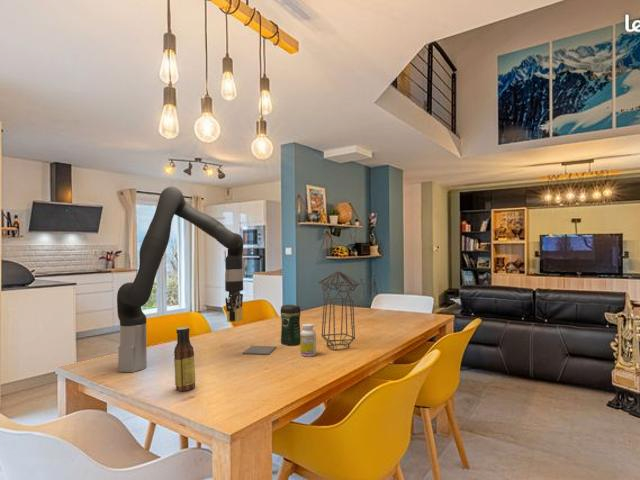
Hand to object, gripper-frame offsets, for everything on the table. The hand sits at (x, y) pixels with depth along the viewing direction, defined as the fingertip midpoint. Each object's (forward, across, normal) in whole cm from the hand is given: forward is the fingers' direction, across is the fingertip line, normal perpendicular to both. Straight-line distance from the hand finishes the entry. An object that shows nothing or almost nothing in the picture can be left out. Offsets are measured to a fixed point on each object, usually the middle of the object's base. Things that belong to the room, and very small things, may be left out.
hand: (234, 319), depth 159 cm
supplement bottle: (+16, +6, -30) cm, 35 cm away
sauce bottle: (+16, -37, +3) cm, 40 cm away
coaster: (+16, +10, -7) cm, 20 cm away
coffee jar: (+16, +24, -18) cm, 35 cm away
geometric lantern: (+16, +20, -42) cm, 50 cm away
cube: (0, 0, 0) cm, 0 cm away
